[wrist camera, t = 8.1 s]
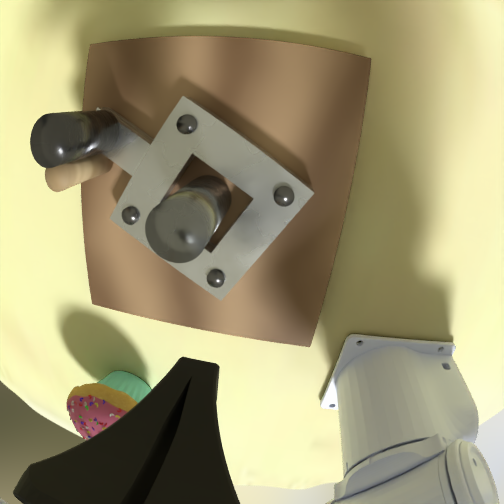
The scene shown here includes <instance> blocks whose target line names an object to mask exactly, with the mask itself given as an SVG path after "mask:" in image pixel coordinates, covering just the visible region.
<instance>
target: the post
mask: <svg viewBox="0 0 504 504" xmlns="http://www.w3.org/2000/svg"><path fill="white" fill-rule="evenodd" d="M230 206H231V192H230V190H229V188H228V186H227V185H226V183H225V182H224V181H222V180H221V179H220V178H218V177H215V176H211V175H203V176H200V177H197V178H196V179H194V180H193V181H191V182H190V183H188V184H187V185H185V186H184V187H182V188H181V189H179V190H178V191H177V192H175V193H174V194H172V195H171V196H169V197H168V198H167V199H165V200H164V201H162V202H161V203H160V204H158V205H157V206H156V207H154V208H153V209H152V210H151V212H150V213H149V215H148V217H147V219H146V223H145V234H146V238H147V241H148V243H149V245H150V247H151V248H152V249H153V251H154V252H155V253H156V254H157V255H158V256H160V257H161V258H163V259H165V260H167V261H169V262H173V263H186V262H190V261H192V260H194V259H195V258H197V257H198V256H199V255H200V254H201V253H202V251H203V250H204V248H205V247H206V245H207V243H208V242H209V240H210V239H211V237H212V235H213V234H214V232H215V231H216V229H217V227H218V226H219V224H220V223H221V221H222V220H223V218H224V216H225V215H226V213H227V212H228V210H229V208H230Z"/></svg>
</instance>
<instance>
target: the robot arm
mask: <svg viewBox="0 0 504 504" xmlns="http://www.w3.org/2000/svg"><path fill="white" fill-rule="evenodd" d="M358 341H362V342H360V343H357V342H358ZM440 347H441V348H440ZM439 348H440V349H439ZM455 349H456V346H455V344H454V343H453V342H439V341H424V340H411V339H399V338H388V337H378V336H368V335H358V334H351V335H349V336H348V337H347V338H346V340H345V343H344V345H343V348H342V351H341V353H340V356H339V358H338V361H337V363H336V366H335V368H334V371H333V373H332V376H331V378H330V381H329V383H328V385H327V388H326V390H325V393H324V395H323V397H322V399H321V402H320V406H321V407H322V408H325V409H338V413H339V423H340V434H341V446H342V459H343V474H344V479H343V480H342V481H341V482H339V483H337V484H335V485H334V499H332V500H330V501H329V502H327V503H326V504H499V499H498V494H497V489H496V486H495V482H494V479H493V477H492V474H491V472H490V469H489V467H488V465H487V463H486V461H485V459H484V457H483V455H482V454H481V452H480V451H479V450H478V448H477V447H476V446H475V445H474V443H475V440H476V437H477V433H478V411H477V407H476V404H475V402H474V400H473V398H472V395H471V393H470V391H469V389H468V387H467V385H466V383H465V381H464V379H463V377H462V375H461V373H460V371H459V369H458V367H457V365H456V363H455V361H454V359H453V357H452V354H453V353H454V351H455ZM218 379H219V366H218V365H217V364H216V363H210V362H205V361H201V360H196V359H191V358H186V357H181V358H180V359H179V360H178V361H177V362H176V364H175V365H174V366H173V367H172V369H171V370H170V371H169V372H168V373H167V374H166V376H165V377H164V378H163V379H162V380H161V381H160V382H159V383H158V384H157V385H156V386H155V387H154V388H153V389H152V390H151V391H150V392H149V393H148V394H147V395H146V396H145V397H144V398H143V399H142V400H141V401H140V402H139V403H138V404H136V405H135V406H134V407H133V408H132V409H131V410H130V411H128V412H127V413H126V414H125V415H123V416H122V417H121V418H120V419H118V420H117V421H116V422H114V423H113V424H112V425H110V426H109V427H107V428H106V429H104V430H103V431H101V432H100V433H98V434H96V435H95V436H93V437H92V438H90V439H88V440H87V441H85V442H83V443H81V444H79V445H77V446H75V447H73V448H71V449H69V450H67V451H65V452H63V453H61V454H58V455H56V456H53V457H50V458H47V459H45V460H42V461H39V462H36V463H33V464H31V465H30V466H29V467H28V468H27V470H26V471H25V472H24V473H23V475H22V477H21V478H20V480H19V482H18V484H17V486H16V487H15V489H14V491H13V494H14V496H15V497H16V498H17V499H18V500H19V501H21V502H22V503H23V504H240V502H239V500H238V497H237V494H236V491H235V489H234V486H233V483H232V480H231V477H230V474H229V471H228V467H227V464H226V460H225V456H224V452H223V448H222V443H221V438H220V432H219V426H218V418H217V406H216V400H217V391H218ZM0 504H8V503H7V502H5V501H4V500H3V499H1V498H0Z"/></svg>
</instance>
